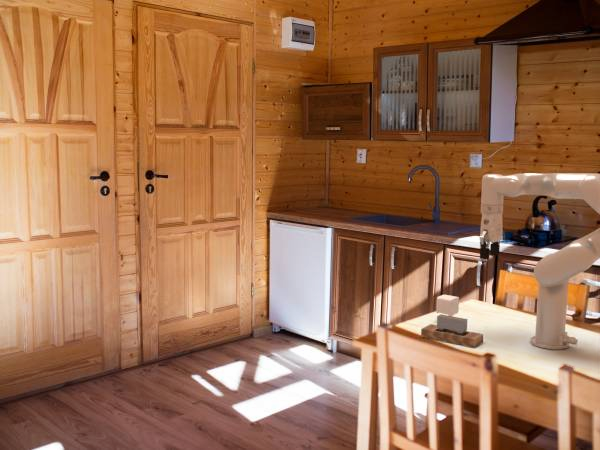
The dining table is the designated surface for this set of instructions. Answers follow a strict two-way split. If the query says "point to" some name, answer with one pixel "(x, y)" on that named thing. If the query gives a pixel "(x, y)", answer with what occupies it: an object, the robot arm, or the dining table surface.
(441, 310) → the security camera
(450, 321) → the grey rectangular block
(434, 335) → the wooden frame
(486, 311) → the dining table surface
